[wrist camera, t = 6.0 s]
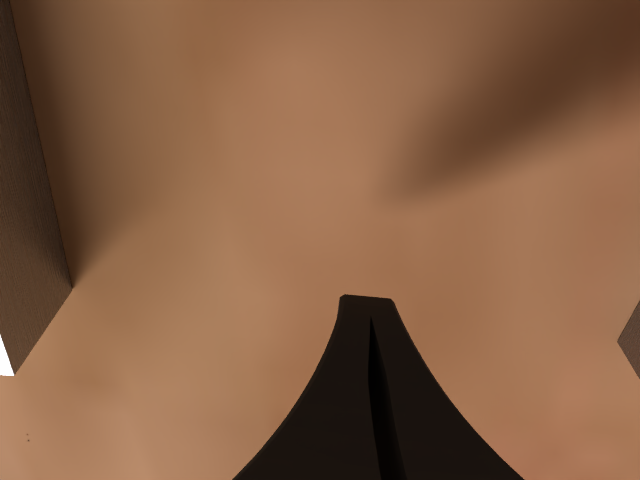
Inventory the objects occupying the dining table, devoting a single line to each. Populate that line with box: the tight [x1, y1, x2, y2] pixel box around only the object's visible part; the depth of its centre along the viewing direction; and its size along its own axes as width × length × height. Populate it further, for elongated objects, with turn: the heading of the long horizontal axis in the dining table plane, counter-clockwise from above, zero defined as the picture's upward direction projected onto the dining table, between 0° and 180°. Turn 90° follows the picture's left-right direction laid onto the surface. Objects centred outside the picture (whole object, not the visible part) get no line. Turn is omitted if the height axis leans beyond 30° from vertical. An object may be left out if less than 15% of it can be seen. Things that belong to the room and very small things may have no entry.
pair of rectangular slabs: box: [0, 0, 640, 379], centre depth 14 cm, size 22×12×4 cm, turn 85°
